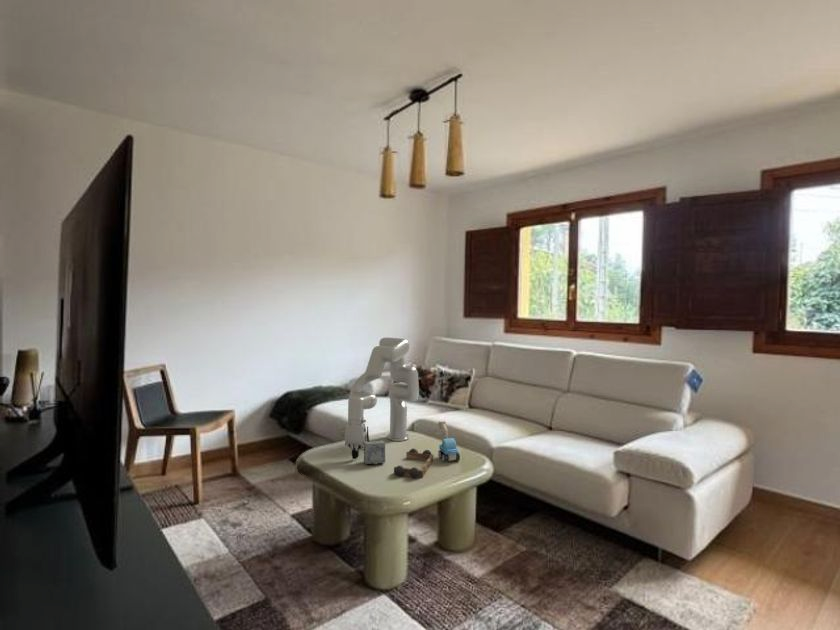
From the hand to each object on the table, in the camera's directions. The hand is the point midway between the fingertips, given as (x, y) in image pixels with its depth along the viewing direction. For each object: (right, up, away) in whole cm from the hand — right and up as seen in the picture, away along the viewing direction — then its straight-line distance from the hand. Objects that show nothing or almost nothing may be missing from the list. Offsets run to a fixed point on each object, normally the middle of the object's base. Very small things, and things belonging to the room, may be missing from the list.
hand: (355, 457), depth 225 cm
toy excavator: (+46, -2, +7) cm, 46 cm away
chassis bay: (+29, -2, -7) cm, 30 cm away
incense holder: (+10, -2, -2) cm, 10 cm away
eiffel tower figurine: (+4, -1, +18) cm, 19 cm away
